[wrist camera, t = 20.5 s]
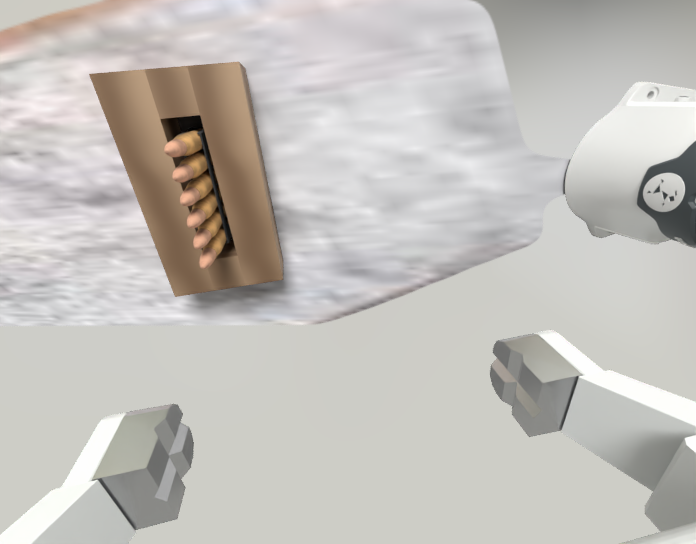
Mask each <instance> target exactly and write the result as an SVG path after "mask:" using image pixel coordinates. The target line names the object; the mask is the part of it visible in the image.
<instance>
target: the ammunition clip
mask: <svg viewBox="0 0 696 544" xmlns="http://www.w3.org/2000/svg"><path fill="white" fill-rule="evenodd" d="M164 152H165V154H166V155H168V156H170V157H180V156H184V157H185V159H184V160H183V161H181V163H180V165H179V166H178V167H177V168H176V169H175V170H174V172H173V174H172V178H173V180H174V181H176V182H185V181H188V180H190V179H191V181H190V182H189V183H188V185H187V187H186V189H185V190H184V191H183V193H182V195H181V197H180V203H181V205H182V206H190V205H193V204H194V205H193V207H192V211H191V213H190V214H189V216H188V218H187V226H188V227H189V228H196V227H198V231H197V233H196V235H195V237H194V241H193V245H194V248H195V249H201V248H203V251H202V254H201V256H200V261H199V264H200V267H201V269H206V268H208V267H209V266H210V265H212V263H213V262H214V260H215V258H216V257H217V255H218V254H220V252H221V251H222V249H223V247H224V244H225V243H229V241H230V239H231V237H232V233H231V229H230V226H229V222H228V218H227V214H226V211H225V207H224V203H223V199H222V196H221V192H220V188H219V184H218V181H217V177H216V173H215V169H214V166H213V162H212V158H211V154H210V150H209V147H208V143H207V139H206V135H205V132H204V128H203V127H195V128H191V129H189V130H187V131H185V132H183V133H181V134H179V135H177V136H176V137H175V138H174V139H173V140H171V141H170V142H168V143H167V144H166V146H165V148H164ZM193 153H194V154H193ZM189 155H191V156H189Z"/></svg>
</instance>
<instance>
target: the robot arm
mask: <svg viewBox="0 0 696 544" xmlns="http://www.w3.org/2000/svg"><path fill="white" fill-rule="evenodd" d="M565 195H566V200H567V203H568V205H569V207H570V209H571V210H572V212H573V213H574V214H575V215H577V216H578V217H580V218H581V219H582V220H584V221H585V222H586V223H587V226H588V229H589V231H590V232H591V234H592V235H593V236H596V237H599V238H603V237H607V236H609V235H612V234H615V233H616V234H619V235H622V236H626V237H629V238H632V239H636V240H639V241H643V242H646V243H650V244H659V243H660V242H664V241H668V240H671V239H672V240H675V241H678V242H680V243H681V244H684V245H686V246H690V247H693V248H696V90H693V89H686V88H681V87H675V86H669V85H662V84H657V83H650V82H637V83H635V84H634V85H633V86H632V87H631V88H630V89H629V90H628V91H627V92H626V94H625V95H624V96H623V98H622V99H621V101H620V102H619V103H618V105H617V106H616V107H615V108H614V109H613V110H612V111H611V112H609V113H608V114H607V115H606V116H604V117H603V118H602V119H600V120H599V121H598V122H597V123H596V124H595V125H594V126H593V127H592V128H591V129H590V130H589V131H588V133H587V134H586V135H585V136H584V137H583V139H582V140H581V142H580V143H579V145H578V146H577V148H576V150H575V152H574V154H573V156H572V158H571V160H570V163H569V166H568V169H567V173H566V178H565ZM493 353H494V355H495V356H496V357H497V359H496V360H495V361H494V362H493V363H492V365H491V370H490V377H491V382H492V385H493V387H494V390H495V391H496V393H497V395H498V396H499V397H500V399H501V400H502V401H504V402H505V403H508V404H509V405H511V406H512V415H513V416H514V418H515V419H516V420H517V422H518V423H519V424H520V426H521V427H522V428H523V430H524V431H525V432H526V434H527V435H528V436H529V437H531V436H536V435H541V434H545V433H551V432H556V431H561V430H562V431H561V433H563V434H564V435H566V436H568V437H569V438H571V439H572V440H574V441H575V442H577V443H578V444H580V445H582V446H583V447H585V448H586V449H588V450H589V451H591V452H593V453H594V454H596V455H597V456H599V457H600V458H602V459H603V460H605V461H607V462H608V463H610V464H611V465H613V466H615V467H616V468H617V469H619V470H621V471H622V472H624V473H625V474H627V475H628V476H630V477H631V478H633V479H635V480H636V481H638V482H639V483H641V484H643V485H644V486H646V487H647V488H649V489H650V490H652V491H653V493H652V495H651V497H650V498H649V500H648V502H647V503H646V505H645V514H646V516H647V517H648V518H649V519H650V520H651V521H652V522H653V524H654V525H655V526H656V527H657V528H658V529H659V530H660V531H661V532H659V533H655V534H652V535H648V536H645V537H641V538H638V539H634V540H631V541H628V542H624V543H620V544H696V402H694V401H691V400H688V399H686V398H683V397H680V396H678V395H675V394H673V393H670V392H667V391H665V390H662V389H659V388H657V387H654V386H651V385H649V384H646V383H643V382H640V381H638V380H635V379H632V378H630V377H627V376H625V375H622V374H619V373H617V372H614V371H611V370H607V371H604V370H602V369H601V368H600V367H598V366H597V365H596V364H595V363H594V362H592V361H591V360H590V359H589V358H588V357H586V356H585V355H584V354H583V353H581V352H580V351H579V350H578V349H577V348H575V347H574V346H573V345H572V344H570V343H569V342H568V341H567V340H566V339H564V338H563V337H562V336H561V335H559V334H558V333H557V332H555V331H552V330H546V331H542V332H537V333H533V334H528V335H523V336H518V337H513V338H508V339H503V340H498V341H497V342H496V343H495V345H494V348H493ZM182 415H183V413H182V412H181V410H180V408H179V406H178V405H176V404H171V405H164V406H159V407H153V408H147V409H142V410H135V411H130V412H126V413H120V414H115V415H108V416H106V417H105V418H103V419H102V420H101V421H100V422H99V424H98V425H97V427H96V429H95V430H94V432H93V434H92V436H91V437H90V439H89V441H88V442H87V444H86V446H85V448H84V449H83V451H82V453H81V454H80V456H79V458H78V460H77V461H76V463H75V465H74V467H73V468H72V470H71V472H70V473H69V475H68V477H67V478H66V480H65V482H64V484H63V485H62V487H61V488H57V489H53V490H52V491H51V492H50V493H48V494H47V495H46V496H45V497H44V498H43V499H41V500H40V501H39V502H38V503H37V504H36V505H34V506H33V507H32V508H31V509H30V510H29V511H28V512H26V513H25V514H24V515H23V516H22V517H20V518H19V519H18V520H17V521H16V522H15V523H14V524H13V525H11V526H10V527H9V528H8V529H7V530H5V531H4V532H3V533H2V534H1V535H0V544H128V543H129V541H130V540H131V539H132V537H133V536H134V535H135V533H136V531H135V530H138V529H141V528H145V527H149V526H153V525H157V524H160V523H164V522H168V521H172V520H175V519H177V518H178V514H179V510H180V506H181V503H182V499H183V495H184V491H185V486H184V484H183V482H182V480H181V479H182V477H183V476H184V475H185V474H186V473H187V471H188V470H189V469H190V468H191V463H192V459H193V446H194V442H193V438H192V433H191V431H190V429H189V427H188V426H186V425H184V424H182V423H181V422H180V421H181V419H182Z"/></svg>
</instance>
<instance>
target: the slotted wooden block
mask: <svg viewBox="0 0 696 544" xmlns="http://www.w3.org/2000/svg"><path fill="white" fill-rule="evenodd" d="M89 75H90V78H91V80H92V83H93V85H94V88H95V91H96V93H97V96H98V98H99V101H100V104H101V106H102V109H103V111H104V114H105V117H106V119H107V122H108V124H109V127H110V130H111V132H112V135H113V137H114V140H115V142H116V145H117V148H118V150H119V153H120V155H121V158H122V161H123V163H124V166H125V168H126V171H127V174H128V176H129V179H130V181H131V184H132V186H133V189H134V192H135V194H136V197H137V199H138V202H139V205H140V207H141V210H142V212H143V215H144V218H145V220H146V223H147V225H148V228H149V231H150V233H151V236H152V238H153V241H154V243H155V246H156V249H157V251H158V254H159V256H160V259H161V262H162V264H163V267H164V269H165V272H166V275H167V277H168V280H169V282H170V285H171V288H172V290H173V293H174V295H175V297H177V296H183V295H190V294H196V293H202V292H209V291H215V290H221V289H227V288H234V287H240V286H246V285H253V284H259V283H265V282H272V281H278V280H283V258H282V253H281V248H280V243H279V238H278V233H277V227H276V222H275V217H274V212H273V207H272V202H271V197H270V192H269V187H268V182H267V177H266V172H265V167H264V162H263V156H262V151H261V146H260V141H259V136H258V131H257V126H256V121H255V116H254V111H253V106H252V101H251V96H250V91H249V86H248V80H247V75H246V70H245V68H244V67H243V66H242V65H241V63H240V62H231V63H218V64H206V65H194V66H182V67H170V68H157V69H145V70H133V71H121V72H109V73H96V74H89ZM195 115H200V117H201V120H202V124H203V128H204V132H205V135H206V139H207V143H208V147H209V150H210V154H211V158H212V162H213V166H214V169H215V173H216V177H217V181H218V184H219V188H220V192H221V196H222V199H223V203H224V207H225V211H226V214H227V218H228V222H229V226H230V229H231V233H232V237H233V240H230V241H229V243H225V244H224V247H223V249H222V251H221V252H220V254H218V255H217V257H216V258H215V260H214V262H213V263H212V265H210V266H209V267H208V268H206V269H201V267H200V264H199V261H200V256H201V254H202V251H203V248H201V249H195V248H194V245H193V241H194V237H195V235H196V233H197V231H198V227H196V228H189V227H188V226H187V218H188V216H189V214H190V213H191V211H192V207H193V205H194V204H193V205H190V206H182V205H181V203H180V197H181V195H182V193H183V191H184V190H185V189H186V187H187V185H188V183H189V182H190V181H191V179H190V180H188V181H185V182H176V181H174V180H173V178H172V174H173V172H174V170H175V169H176V168H177V167H178V166H179V165H180V163H181V161H183V160H184V159H185V157H184V156H180V157H170V156H168V155H166V154H165V152H164V148H165V146H166V144H167V143H168V142H170V141H171V140H173V139H174V138H175V137H176V136H177V135H179V134H181V133H182V132H181V129H180V126H179V122H178V119H177V117H185V116H195Z"/></svg>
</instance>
